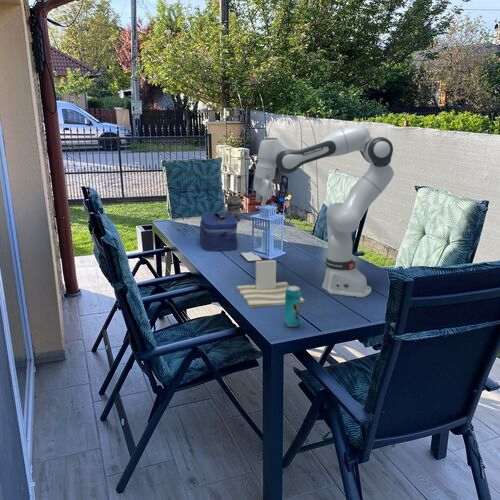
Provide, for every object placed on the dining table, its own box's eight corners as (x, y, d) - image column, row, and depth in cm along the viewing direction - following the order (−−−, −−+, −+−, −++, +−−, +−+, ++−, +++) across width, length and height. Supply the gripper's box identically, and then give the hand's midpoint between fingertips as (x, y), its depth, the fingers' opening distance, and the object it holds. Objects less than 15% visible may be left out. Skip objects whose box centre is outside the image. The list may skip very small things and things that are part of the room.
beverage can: (293, 329, 184) (294, 291, 180) (281, 324, 188) (282, 288, 184) (302, 324, 188) (303, 287, 184) (290, 320, 192) (291, 284, 188)
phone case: (263, 262, 266) (254, 254, 281) (263, 259, 266) (254, 251, 280) (247, 264, 263) (239, 255, 278) (247, 261, 263) (239, 252, 278)
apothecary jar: (237, 222, 357) (237, 198, 352) (222, 221, 361) (222, 197, 356) (243, 219, 368) (244, 195, 363) (229, 218, 372) (229, 194, 367)
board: (236, 288, 225) (236, 285, 225) (285, 284, 232) (285, 281, 231) (250, 308, 203) (250, 305, 203) (304, 302, 209) (304, 300, 209)
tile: (274, 286, 225) (274, 259, 221) (275, 288, 223) (276, 261, 219) (255, 288, 223) (255, 261, 219) (256, 290, 220) (257, 262, 217)
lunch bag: (240, 252, 284) (241, 217, 278) (205, 254, 279) (204, 219, 273) (230, 238, 313) (230, 207, 307) (198, 240, 308) (197, 208, 302)
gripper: (278, 178, 210) (272, 209, 214) (266, 171, 229) (261, 200, 232) (264, 177, 208) (259, 208, 212) (253, 169, 227) (248, 198, 231)
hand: (260, 204), depth 222 cm, fingers open, 8 cm apart
